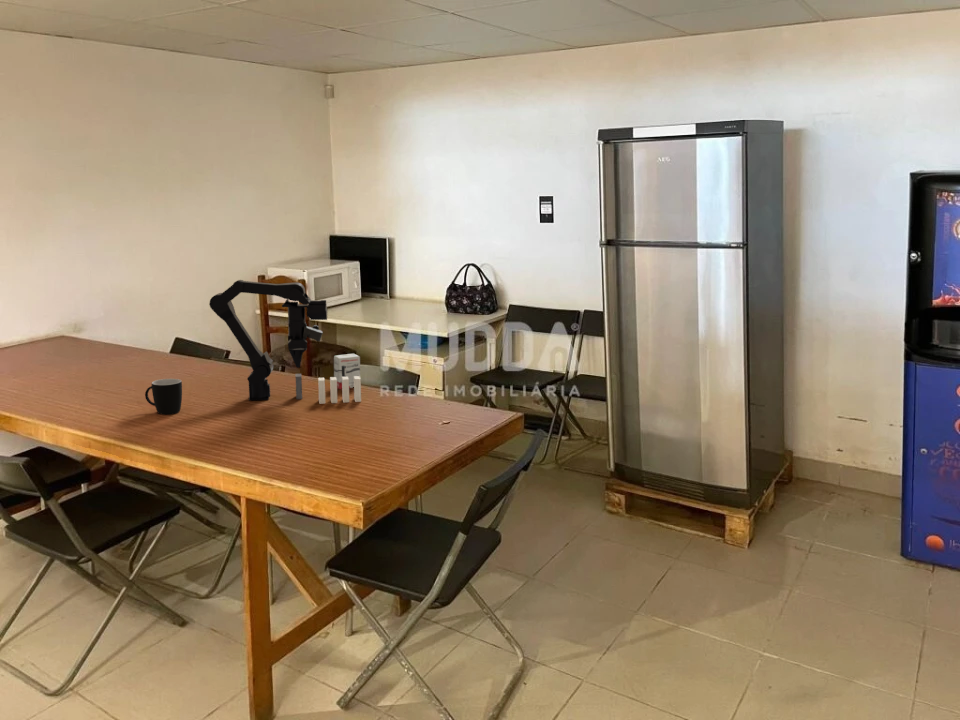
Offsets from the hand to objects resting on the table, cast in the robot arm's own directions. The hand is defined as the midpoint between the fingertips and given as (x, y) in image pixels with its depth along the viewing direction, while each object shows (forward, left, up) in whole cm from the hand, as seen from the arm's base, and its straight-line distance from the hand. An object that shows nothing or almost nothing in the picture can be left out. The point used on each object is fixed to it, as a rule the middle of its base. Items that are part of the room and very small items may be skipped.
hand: (298, 364), depth 268 cm
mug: (-42, -11, -12) cm, 45 cm away
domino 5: (+20, -8, -12) cm, 24 cm away
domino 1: (0, 0, -12) cm, 12 cm away
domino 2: (+8, -8, -12) cm, 16 cm away
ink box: (+18, +12, -12) cm, 25 cm away
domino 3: (+12, -8, -12) cm, 18 cm away
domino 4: (+16, -8, -12) cm, 21 cm away
